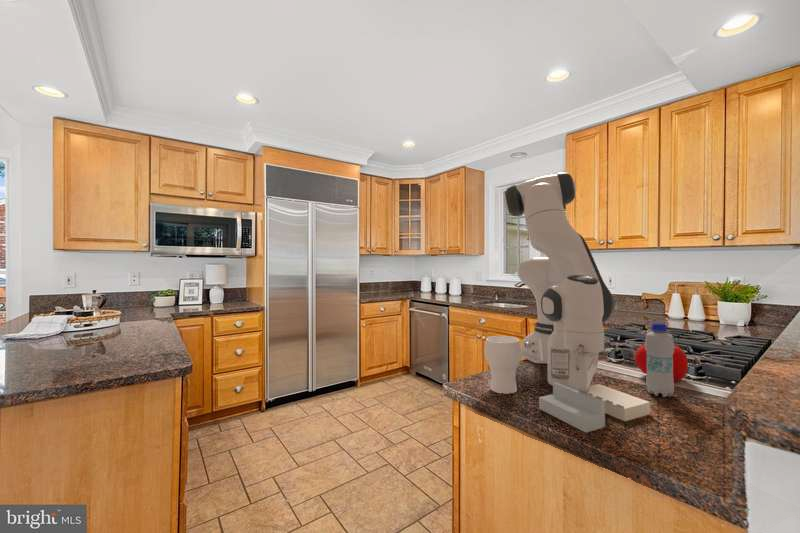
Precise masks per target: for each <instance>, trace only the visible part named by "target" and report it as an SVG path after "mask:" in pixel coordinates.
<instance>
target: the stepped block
mask: <svg viewBox="0 0 800 533" xmlns="http://www.w3.org/2000/svg"><path fill="white" fill-rule="evenodd" d="M538 410H541V411H543V412H545V413H547V414H549V415H551V416H552V417H555V418H556V419H558V420H560V421H562V422H564V423H567V424H568V425H570V426H572V427H574V428H576V429H578V430H580V431H581V432H584V433H590V432H593V431H596V430H599V429H603V428H606V413H605V401H603V400H601V399H598V398H595V397H593V396H590V395H588V394H585V393H583V392H580V391H578V390H575V389H571V388H570V387H568V386H565V385H563V384H560V383H557V382H554V383H553V386H552V394H547V395H543V396H542V395H541V396H539V397H538Z"/></svg>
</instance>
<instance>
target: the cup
mask: <svg viewBox="0 0 800 533" xmlns="http://www.w3.org/2000/svg"><path fill="white" fill-rule="evenodd" d="M484 357H485V359H486V360H485V361H486V362H487V364H488V366H489V369H490V374H491V378H490V385H489V386H490V387H489V389H490V390H491V391H492V392H494V393H497V394H502V393H503V394H502V395H504V394H505V395H507V394H509V395H510V393H511V394H515V393H516V392H517V391H518V388H517V381H516V374H517V369H518V367H519V365H520V363H521V359H522V344H521V342H520V339H519V338H518V337H515V336H507V335H492V336H488V337H486V339H485V344H484Z"/></svg>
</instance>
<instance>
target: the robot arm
mask: <svg viewBox="0 0 800 533" xmlns="http://www.w3.org/2000/svg"><path fill="white" fill-rule="evenodd" d="M576 194H577V185H576V181H575V180H574V178H573V176H572V175H571V174H570V173H568V172H556V174H549V175H544V176H539V177H535V178H534V179H530V180H527V181H524V182H522V183H521V182H520V183H518V184H513V185H511V186H508V188H506V190H505V192H504V197H503V203H504V204H503V205H504V207H505V208H506V211H507V212H508V214H510V215H511V216H513V217H522V216H523V215H524V220H525V226H526V230H527V234H528V236H529V241H530V245H531V247H532V248H533V249H534V250H535V251H538V252H539V253H542V254H544V255H545V256H534V257H529V258H526V259H522V261H521V262H520V263H519V265H518V268H517V275H518V278H519V279H520V281H521V282H522V283H523V284H524V285H525V286H527V287H528V289H529V290H530V291H531V292H532V295H533V296H534V299H535V302H536V303H535V304H536V312H537V314H536V315H537V316H536V317H537V321H536V322H532V326H533V327H534V329H533V331H532V332H531V333H529V334H528V335H526V336H525V337H524V338H523V339H522V341H521V349H522V356H521V358H524V359H526V360H528V361H530V362H532V363H535V364H545V365H546V364H547V342H548V339H549V337H550V335H551V334H552V332H553V331H554V322H564V347H565V348H566V349H569V350H570V354H571V357H570V370H569V384H570V388H571V389H575V390H579V391H580V392H583V393H585V394H588V395H589V394H590V391H589V389H590V386H591V382H592V379H593V378H594V376H595V373H596V371H597V368H598V364H599V355H600V353H601V352H604V351H605V328H604V326H603V323H605V322H606V321H607V320H609V318H610V317H611V316H612V315H613V314H614V311H615V308H616V303H615V298H614V296H613V294H612V293H611V291H610V290H609V288H608V286H607V285H606V283H605V281H604V280H603V278H602V275H601V273H600V271H599V269H598V266H597V263H596V262H595V261H596V260H595V259H594V257H593V254H592V252H591V250H590V249H589V246H588V244H587V242H586V240H585V239H584V237H583V235H581V234H580V233H578V232H577V231H576V230H575V229H574V228H573V226H572V224H570V222H569V220H568V218H567V216H566V212H565V208H564V207H565V206H566V205H568V204H571V203H572V202H573V201H574V200H575V198H576Z"/></svg>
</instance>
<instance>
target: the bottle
mask: <svg viewBox="0 0 800 533" xmlns="http://www.w3.org/2000/svg"><path fill="white" fill-rule="evenodd" d="M667 331H668V326H667V325H666V323H663V322H654V323H652V325H651V331H649V332H647V333H646V334H645V342H644V344H645V350H646V352H647V374H646V375H645V376H646V378H645V379H646V380H645V384H646V389H647V392H648V393H649V394H650V395H654V396H655V397H658V396H659V394H661V395H662V396H661V397H662V398H666V397H672V396H673V394H674V391H675V381H674V380H673V353H674V348H675V347H674V345H675V343H674V337H673V335H672V334H670V333H668V332H667Z"/></svg>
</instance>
